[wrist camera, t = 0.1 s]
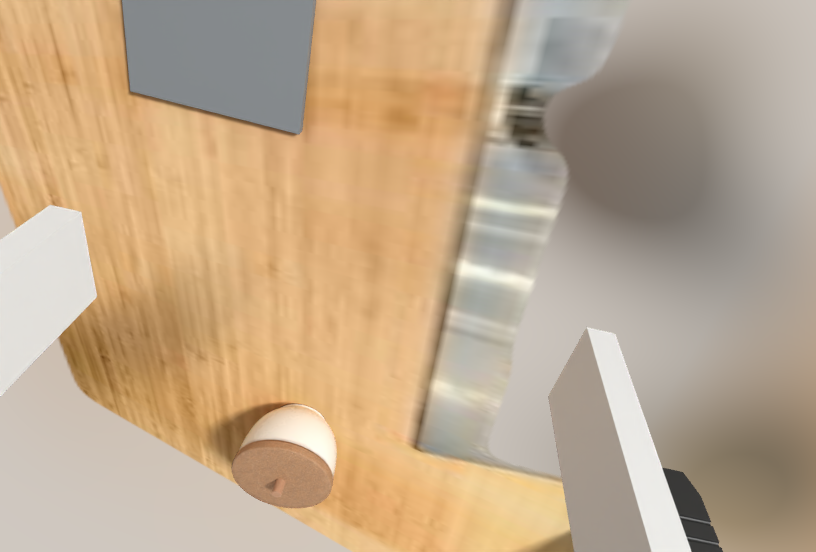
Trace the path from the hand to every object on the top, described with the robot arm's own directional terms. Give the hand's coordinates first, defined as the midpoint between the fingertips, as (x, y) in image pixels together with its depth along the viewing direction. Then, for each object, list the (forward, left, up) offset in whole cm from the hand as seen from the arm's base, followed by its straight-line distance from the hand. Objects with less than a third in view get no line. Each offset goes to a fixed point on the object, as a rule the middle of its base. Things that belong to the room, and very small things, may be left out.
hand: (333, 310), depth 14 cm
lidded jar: (+42, -4, -28) cm, 51 cm away
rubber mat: (-1, -14, -28) cm, 31 cm away
